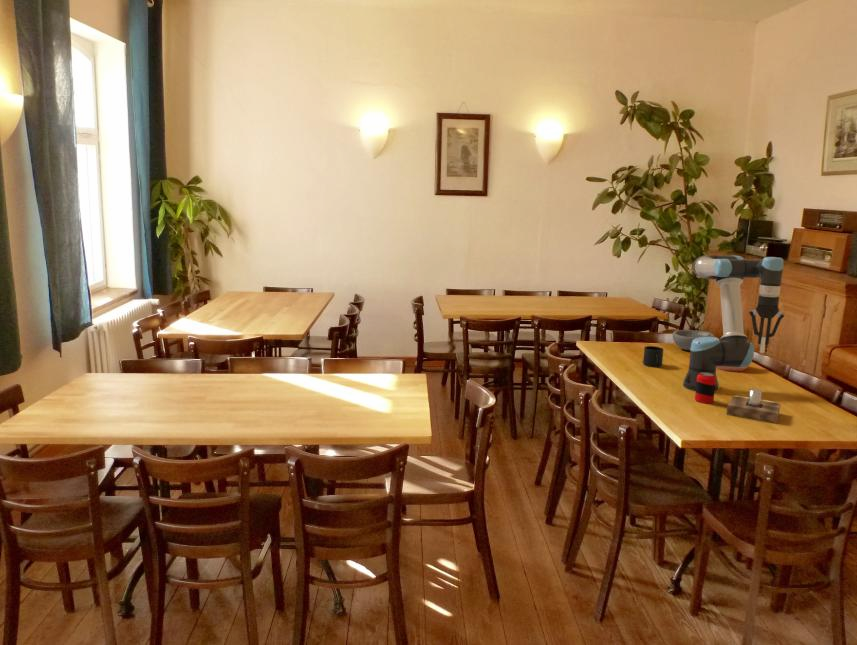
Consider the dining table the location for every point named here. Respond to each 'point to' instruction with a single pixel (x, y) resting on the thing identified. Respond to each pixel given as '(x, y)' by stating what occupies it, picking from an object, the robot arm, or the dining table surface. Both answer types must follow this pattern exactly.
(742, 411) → the jig
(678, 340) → the bowl
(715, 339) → the robot arm
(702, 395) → the soda can
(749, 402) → the bushing
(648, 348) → the mug
